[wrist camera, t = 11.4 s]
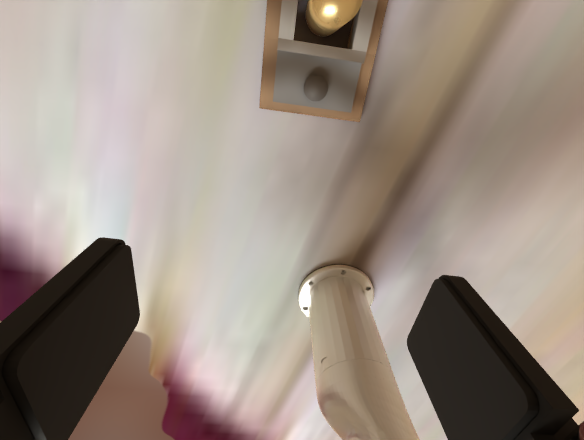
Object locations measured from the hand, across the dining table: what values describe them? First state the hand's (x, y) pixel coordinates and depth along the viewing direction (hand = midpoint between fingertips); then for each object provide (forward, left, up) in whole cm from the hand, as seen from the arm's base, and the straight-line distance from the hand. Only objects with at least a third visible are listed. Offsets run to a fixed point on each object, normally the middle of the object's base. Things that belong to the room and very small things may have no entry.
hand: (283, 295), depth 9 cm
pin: (+12, -3, -30) cm, 32 cm away
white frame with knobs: (+12, -3, -30) cm, 32 cm away
